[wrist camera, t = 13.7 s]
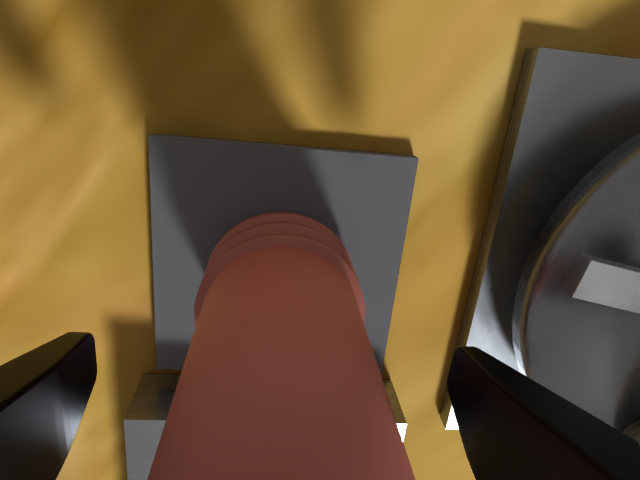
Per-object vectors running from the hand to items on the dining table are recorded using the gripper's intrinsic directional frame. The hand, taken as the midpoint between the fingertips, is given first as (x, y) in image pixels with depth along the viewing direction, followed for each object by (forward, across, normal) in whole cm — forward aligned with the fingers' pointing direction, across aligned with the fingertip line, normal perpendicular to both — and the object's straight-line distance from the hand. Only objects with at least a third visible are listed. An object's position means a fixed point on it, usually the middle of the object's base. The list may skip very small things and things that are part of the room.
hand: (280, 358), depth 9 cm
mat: (+5, 0, 0) cm, 5 cm away
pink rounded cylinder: (+4, 0, 0) cm, 4 cm away
